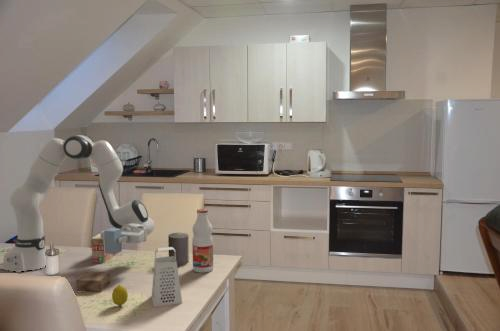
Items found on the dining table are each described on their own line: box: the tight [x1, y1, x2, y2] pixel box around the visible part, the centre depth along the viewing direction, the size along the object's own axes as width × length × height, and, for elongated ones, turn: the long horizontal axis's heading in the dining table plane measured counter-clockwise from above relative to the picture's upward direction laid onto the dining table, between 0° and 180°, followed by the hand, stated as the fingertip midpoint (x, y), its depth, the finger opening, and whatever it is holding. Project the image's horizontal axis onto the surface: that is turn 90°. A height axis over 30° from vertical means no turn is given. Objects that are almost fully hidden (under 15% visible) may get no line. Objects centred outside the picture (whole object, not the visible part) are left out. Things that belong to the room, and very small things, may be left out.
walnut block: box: [75, 271, 111, 293], centre depth 193 cm, size 10×10×5 cm
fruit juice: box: [191, 208, 214, 274], centre depth 213 cm, size 9×9×28 cm
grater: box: [151, 246, 183, 307], centre depth 178 cm, size 10×10×20 cm
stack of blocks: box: [91, 233, 117, 264], centre depth 236 cm, size 21×6×12 cm, turn 174°
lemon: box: [111, 284, 129, 307], centre depth 173 cm, size 6×6×8 cm
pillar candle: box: [167, 232, 190, 267], centre depth 225 cm, size 10×10×15 cm
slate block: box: [103, 227, 123, 255], centre depth 203 cm, size 5×5×10 cm
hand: (111, 240), depth 202 cm, fingers closed on slate block, 5 cm apart
